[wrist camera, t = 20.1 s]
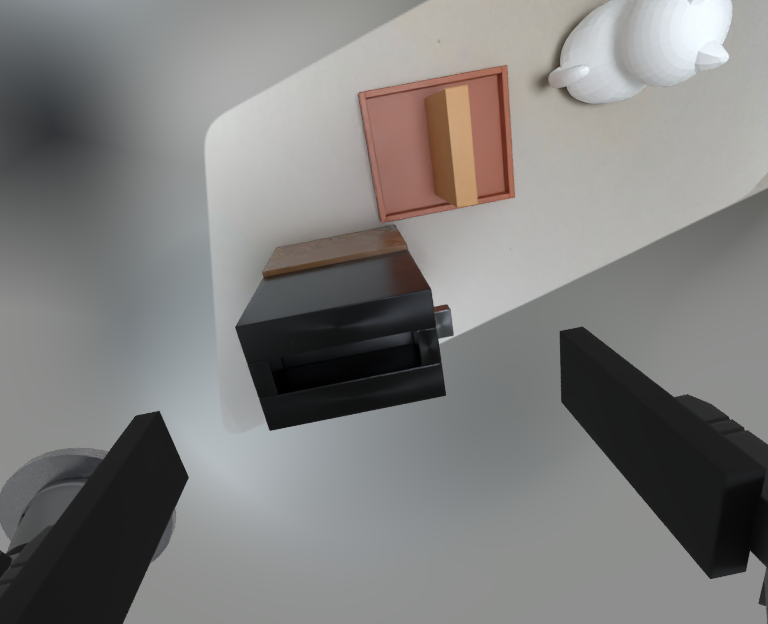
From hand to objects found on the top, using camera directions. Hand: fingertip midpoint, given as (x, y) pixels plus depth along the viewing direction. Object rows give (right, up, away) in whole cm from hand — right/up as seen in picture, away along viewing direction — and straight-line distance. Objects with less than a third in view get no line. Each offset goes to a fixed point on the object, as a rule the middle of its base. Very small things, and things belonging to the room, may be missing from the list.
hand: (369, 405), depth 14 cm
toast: (+6, +21, +33) cm, 40 cm away
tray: (+6, +21, +34) cm, 40 cm away
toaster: (-4, +7, +38) cm, 39 cm away
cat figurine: (+22, +29, +32) cm, 49 cm away
